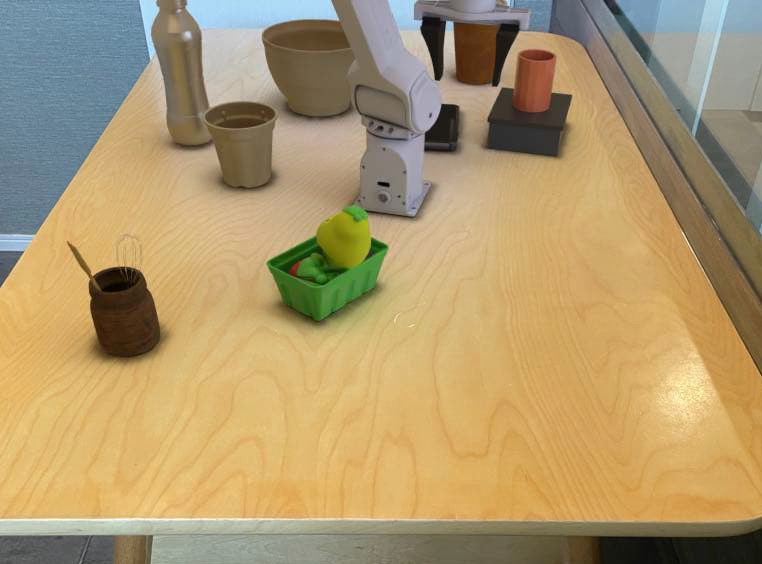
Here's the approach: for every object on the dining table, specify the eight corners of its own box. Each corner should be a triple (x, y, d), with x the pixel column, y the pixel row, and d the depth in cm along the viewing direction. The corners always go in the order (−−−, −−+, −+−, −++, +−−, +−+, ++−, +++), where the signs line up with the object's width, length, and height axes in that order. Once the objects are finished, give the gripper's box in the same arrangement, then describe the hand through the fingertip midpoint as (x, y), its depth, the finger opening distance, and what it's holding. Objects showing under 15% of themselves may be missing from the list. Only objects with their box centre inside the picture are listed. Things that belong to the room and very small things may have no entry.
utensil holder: (173, 341, 80) (151, 232, 72) (115, 368, 77) (86, 257, 69) (142, 316, 84) (118, 209, 76) (85, 340, 80) (54, 231, 72)
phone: (401, 141, 115) (409, 101, 126) (401, 148, 116) (409, 109, 127) (457, 143, 115) (460, 104, 126) (457, 151, 115) (460, 111, 127)
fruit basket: (339, 262, 92) (336, 168, 85) (400, 290, 88) (402, 193, 81) (266, 305, 85) (256, 206, 78) (328, 337, 81) (323, 236, 74)
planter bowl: (360, 130, 121) (359, 54, 114) (255, 122, 123) (247, 46, 115) (379, 92, 133) (379, 21, 126) (283, 85, 135) (278, 14, 127)
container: (558, 157, 115) (563, 126, 112) (484, 148, 116) (487, 117, 114) (567, 124, 124) (572, 94, 121) (498, 116, 126) (501, 86, 123)
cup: (547, 114, 115) (554, 63, 110) (510, 110, 116) (515, 59, 111) (551, 101, 119) (558, 51, 114) (515, 97, 120) (520, 47, 115)
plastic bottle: (207, 152, 114) (185, -2, 101) (162, 148, 115) (134, -6, 102) (223, 134, 119) (204, -15, 106) (180, 130, 120) (156, -19, 107)
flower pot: (196, 184, 106) (186, 119, 101) (239, 158, 113) (232, 95, 107) (255, 201, 103) (248, 134, 98) (296, 172, 110) (292, 109, 104)
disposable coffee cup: (437, 72, 140) (440, -3, 132) (485, 65, 143) (491, -9, 136) (463, 91, 134) (468, 12, 126) (513, 83, 137) (521, 6, 129)
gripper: (538, -36, 100) (525, 76, 109) (424, -45, 103) (420, 65, 112) (531, -22, 95) (518, 95, 104) (410, -32, 98) (408, 83, 107)
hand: (467, 81), depth 108 cm, fingers open, 7 cm apart
